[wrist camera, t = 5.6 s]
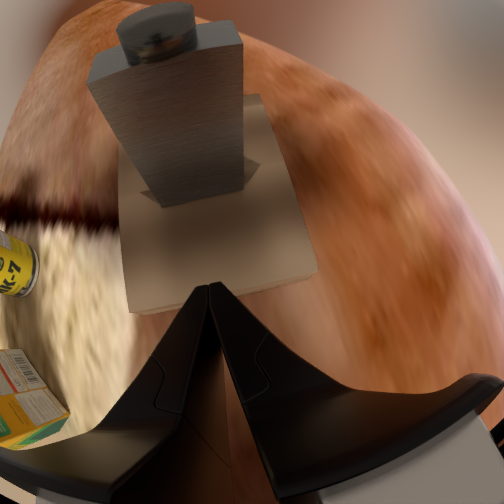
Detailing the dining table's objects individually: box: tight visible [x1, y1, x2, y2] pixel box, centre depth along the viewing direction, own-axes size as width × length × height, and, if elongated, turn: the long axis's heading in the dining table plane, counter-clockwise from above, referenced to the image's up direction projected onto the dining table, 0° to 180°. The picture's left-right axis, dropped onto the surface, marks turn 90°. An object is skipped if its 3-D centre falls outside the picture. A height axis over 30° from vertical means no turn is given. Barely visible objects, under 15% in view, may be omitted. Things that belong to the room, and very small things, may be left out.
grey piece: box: [86, 2, 244, 208], centre depth 11 cm, size 2×5×11 cm, turn 103°
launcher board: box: [118, 94, 319, 315], centre depth 18 cm, size 14×11×3 cm
